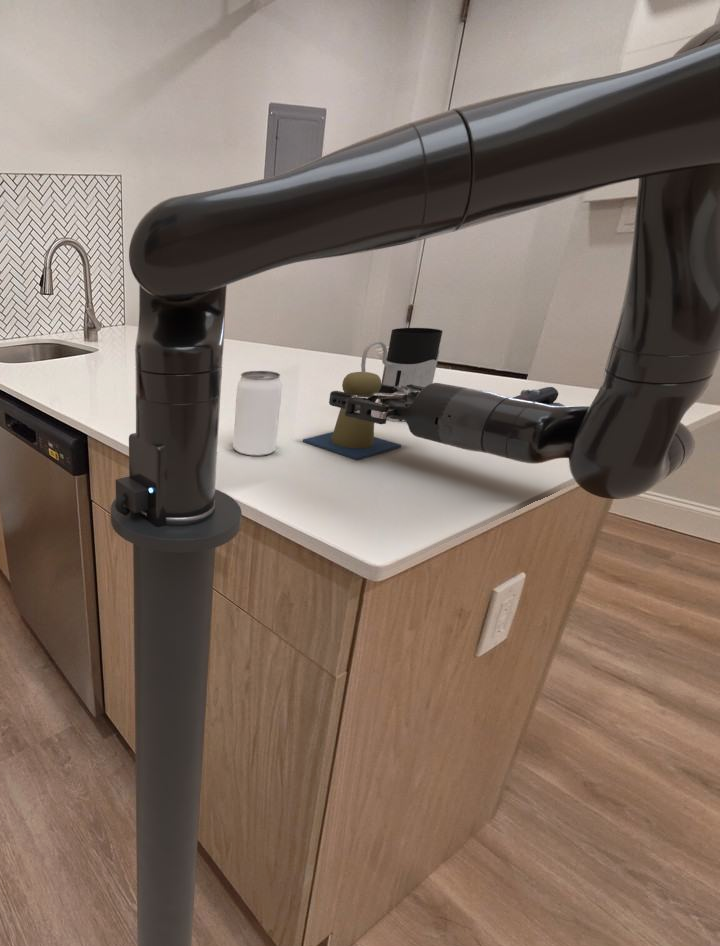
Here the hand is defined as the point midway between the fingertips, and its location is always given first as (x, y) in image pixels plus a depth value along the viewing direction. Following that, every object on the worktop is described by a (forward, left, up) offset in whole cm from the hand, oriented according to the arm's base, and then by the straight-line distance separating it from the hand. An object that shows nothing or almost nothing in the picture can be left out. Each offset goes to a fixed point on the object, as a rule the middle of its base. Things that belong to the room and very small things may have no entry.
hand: (350, 393), depth 81 cm
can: (-14, +5, -8) cm, 17 cm away
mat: (0, -1, -8) cm, 8 cm away
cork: (0, -2, -8) cm, 8 cm away
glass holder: (+18, +5, -8) cm, 21 cm away
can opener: (+30, -10, -8) cm, 33 cm away
